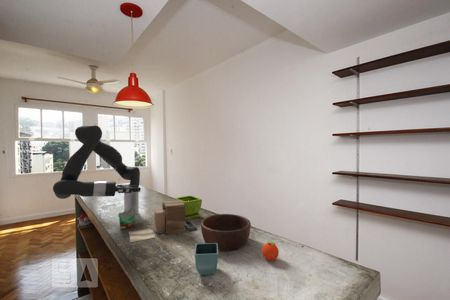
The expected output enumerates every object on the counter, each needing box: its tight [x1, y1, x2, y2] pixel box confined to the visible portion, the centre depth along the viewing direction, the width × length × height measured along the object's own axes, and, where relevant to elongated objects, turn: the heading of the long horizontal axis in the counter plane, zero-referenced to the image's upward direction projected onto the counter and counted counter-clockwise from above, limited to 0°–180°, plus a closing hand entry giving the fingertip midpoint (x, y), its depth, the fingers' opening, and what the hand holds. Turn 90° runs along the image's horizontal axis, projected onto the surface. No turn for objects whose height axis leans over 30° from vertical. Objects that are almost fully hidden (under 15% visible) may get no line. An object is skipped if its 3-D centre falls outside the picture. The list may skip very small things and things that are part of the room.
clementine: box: [261, 241, 280, 261], centre depth 91 cm, size 8×7×7 cm
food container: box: [118, 207, 137, 231], centre depth 125 cm, size 12×6×10 cm, turn 168°
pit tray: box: [185, 219, 198, 232], centre depth 126 cm, size 12×5×2 cm, turn 27°
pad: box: [128, 227, 156, 243], centre depth 114 cm, size 14×12×1 cm
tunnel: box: [161, 199, 186, 236], centre depth 122 cm, size 12×10×16 cm
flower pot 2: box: [194, 243, 219, 276], centre depth 82 cm, size 9×9×9 cm
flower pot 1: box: [174, 195, 203, 221], centre depth 143 cm, size 14×14×13 cm
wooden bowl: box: [200, 213, 252, 252], centre depth 107 cm, size 25×25×10 cm
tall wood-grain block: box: [154, 209, 166, 234], centre depth 120 cm, size 7×15×11 cm, turn 117°
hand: (139, 188), depth 114 cm, fingers open, 8 cm apart
